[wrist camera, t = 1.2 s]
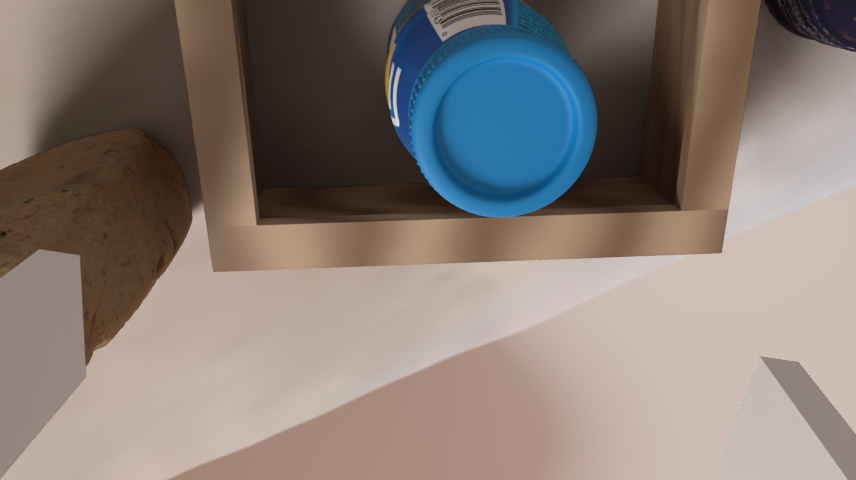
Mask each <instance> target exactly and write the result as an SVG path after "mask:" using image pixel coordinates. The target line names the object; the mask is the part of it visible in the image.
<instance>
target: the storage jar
mask: <svg viewBox="0 0 856 480" xmlns="http://www.w3.org/2000/svg"><path fill="white" fill-rule="evenodd" d="M764 1H765V4H766V6H767V8H768V9H769V11H770V13H771V15H772V16H773V17H774V18H775V19H776V21H777V22H778V23H779V24H780V25H782V26H783V27H784V28H785V29H786V30H788V31H790V32H792V33H793V34H795V35H797V36H801V37H804V38H807V39H811V40H816V41H818V42H819V43H823V44H826V45H829V46H832V47H837V48H841V49H845V50H849V51H854V52H856V0H764Z"/></svg>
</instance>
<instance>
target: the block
mask: <svg viewBox="0 0 856 480" xmlns="http://www.w3.org/2000/svg"><path fill="white" fill-rule="evenodd" d="M192 218H193V217H192V211H191V207H190V204H189V196H188V192H187V189H186V186H185V183H184V180H183V177H182V174H181V171H180V169H179V167H178V166H177V164H176V162H175V160H174V159H173V157H172V156H171V154H170V153H169V152H168V151H166V150H165V149H162V148H160V147H159V145H158V144H157V143H156V142H154V141H153V140H152V139H151V138H150V137H149V136H148V135H147V134H146V133H145V132H144V131H142V130H138V129H134V128H127V129H119V130H114V131H108V132H103V133H100V134H96V135H92V136H87V137H84V138H81V139H78V140H74V141H71V142H67V143H65V144H62V145H60V146H57V147H54V148H52V149H50V150H48V151H45V152H43V153H40V154H37V155H34V156H32V157H29V158H26V159H24V160H22V161H20V162H18V163H15V164H12V165H10V166H8V167H6V168H4V169H2V170H0V278H2V277H3V276H4V275H6V274H7V273H8V272H10V271H11V270H12V269H14V268H15V267H16V266H18V265H19V264H20V263H22V262H23V261H24V260H26V259H27V258H28V257H30V256H31V255H32V254H34V253H35V252H36V251H38V250H39V249H41V250H48V251H55V252H61V253H68V254H75V255H80V269H81V288H82V307H83V326H84V345H85V364H86V366H87V364H88V363H89V361H90V359H91V357H92V354H93V351H95V350H97V349H99V348H101V347H104V346H106V345H107V344H108V343H109V342H110V341H111V340H112V339H113V338H114V337H115V335H116V334H117V333H118V331H119V330H120V329H121V328H123V326H124V324H125V322H126V321H128V320H129V319H130V318H131V316H132V315H133V314H134V312H135V311H136V310H137V309H138V308H139V306H140V305H141V303H142V301H143V300H144V299H145V298H146V296H147V295H148V293H149V292H150V290H151V289H152V287H153V286H154V284H155V282H156V280H157V279H158V278H159V277H160V276H161V275H162V274H163V273H164V272H165V270H166V269H167V267H168V266H169V264H170V263H171V261H172V260H173V258H174V256H175V255H176V253H177V252H178V250H179V248H180V247H181V245H182V243H183V241H184V239H185V238H186V235H187V233H188V231H189V228H190V225H191V223H192Z"/></svg>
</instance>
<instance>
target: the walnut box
mask: <svg viewBox="0 0 856 480" xmlns="http://www.w3.org/2000/svg"><path fill="white" fill-rule="evenodd" d="M174 2H175V9H176V16H177V23H178V30H179V37H180V44H181V51H182V58H183V65H184V72H185V79H186V86H187V93H188V100H189V107H190V114H191V120H192V127H193V134H194V141H195V148H196V155H197V162H198V169H199V176H200V183H201V190H202V197H203V204H204V211H205V218H206V225H207V232H208V239H209V246H210V253H211V260H212V267H213V272H225V271H252V270H279V269H306V268H333V267H360V266H387V265H414V264H441V263H468V262H495V261H522V260H549V259H576V258H603V257H630V256H657V255H684V254H711V253H722V247H723V240H724V234H725V228H726V221H727V215H728V208H729V202H730V196H731V189H732V183H733V176H734V170H735V164H736V157H737V151H738V144H739V138H740V132H741V125H742V119H743V112H744V106H745V100H746V93H747V87H748V80H749V74H750V68H751V61H752V55H753V49H754V42H755V36H756V29H757V23H758V17H759V10H760V4H761V0H659V1H658V11H657V20H656V30H655V39H654V49H653V59H652V68H651V78H650V87H649V97H648V107H647V116H646V126H645V136H644V145H643V155H642V164H641V174H640V177H609V178H578V179H577V180H576V181H575V182H574V184H573V185H572V186H571V187H570V188H569V189H568V190H567V191H566V192H565V193H564V194H562V195H561V196H560V197H559V198H557V199H556V200H554V201H553V202H551V203H550V204H548V205H546V206H544V207H542V208H540V209H538V210H536V211H533V212H530V213H527V214H523V215H519V216H513V217H487V216H481V215H477V214H473V213H470V212H468V211H465V210H463V209H461V208H459V207H457V206H455V205H453V204H452V203H450V202H449V201H447V200H446V199H445V198H443V197H442V196H441V195H440V194H439V193H438V192H437V191H436V190H434V188H433V187H432V185H430V184H429V183H419V184H388V185H356V186H324V187H293V188H264V184H263V175H262V166H261V157H260V147H259V138H258V129H257V120H256V110H255V101H254V92H253V83H252V73H251V64H250V55H249V46H248V36H247V27H246V18H245V9H244V0H174Z"/></svg>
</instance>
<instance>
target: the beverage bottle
mask: <svg viewBox="0 0 856 480" xmlns="http://www.w3.org/2000/svg"><path fill="white" fill-rule="evenodd" d="M581 69H582V68H581V67H580V66H579V65H577V61H575V60H574V59H572V58H571V55H570V54H569V52H568V50H567V47H566V45H565V43H564V41H563V40H562V38H561V36H560V35H559V33H558V32H557V31H556V29H555V28H554V27H553V26H552V25H551V24H550V23H549V21H547V20H546V19H545V18H544V17H543V16H542V15H541V14H539V13H538V12H537V11H535V10H534V9H533V8H531V7H530V6H529V5H527V4H526V3H525V2H523V1H521V0H409V1H408V2H407V4H406V5H405V6H404V7H403V8H402V10H401V11H400V12H399V14H398V16H397V17H396V19H395V21H394V23H393V26H392V28H391V31H390V35H389V39H388V47H387V64H386V70H385V91H386V98H387V103H388V107H389V110H390V115H391V118H392V122H393V125H394V127H395V130H396V132H397V134H398V136H399V138H400V140H401V141H402V143H403V145H404V146H405V147H406V149H407V150H408V151H409V153H410V154H411V155H412V156H413V157H414V158H415V159H416V161H417V165H418V166H420V171H421V173H423V174H424V177H425V179H427V180H428V182H429V184H430V185H432V187H433V188H434V190H436V191H437V192H438V193H439V194H440V195H441V196H442V197H443V198H445V199H446V200H447V201H449V202H450V203H452V204H453V205H455V206H457V207H459V208H461V209H463V210H465V211H468V212H470V213H473V214H477V215H481V216H487V217H513V216H519V215H523V214H527V213H530V212H533V211H536V210H538V209H540V208H542V207H544V206H546V205H548V204H550V203H551V202H553V201H554V200H556V199H557V198H559V197H560V196H561V195H562V194H564V193H565V192H566V191H567V190H568V189H569V188H570V187H571V186H572V185H573V184H574V182H575V181H576V180H577V179H578V177H579V176H580V175H581V173H582V172H583V170H584V168H585V166H586V165H587V163H588V161H589V158H590V156H591V153H592V151H593V147H594V144H595V139H596V134H597V108H596V103H595V98H594V95H593V92H592V88H591V87H590V84H589V81H588V80H587V78H586V74H584V73H583V72H582V70H581Z"/></svg>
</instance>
